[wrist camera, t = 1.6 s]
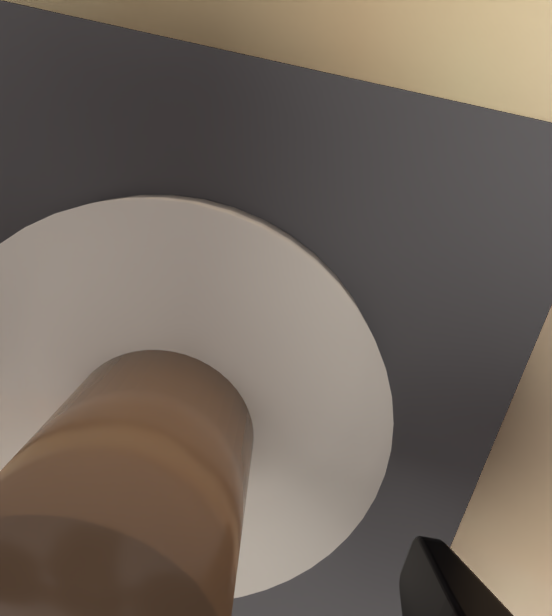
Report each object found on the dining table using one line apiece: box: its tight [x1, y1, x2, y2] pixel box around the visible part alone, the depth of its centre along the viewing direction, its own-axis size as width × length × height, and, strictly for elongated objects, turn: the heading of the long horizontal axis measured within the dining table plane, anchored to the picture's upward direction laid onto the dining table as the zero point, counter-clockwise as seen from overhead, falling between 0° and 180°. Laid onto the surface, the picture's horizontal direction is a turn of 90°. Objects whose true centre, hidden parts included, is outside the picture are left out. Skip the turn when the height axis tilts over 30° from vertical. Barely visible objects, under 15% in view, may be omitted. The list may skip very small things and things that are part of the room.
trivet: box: [0, 0, 552, 616], centre depth 10 cm, size 14×14×1 cm
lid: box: [0, 195, 394, 616], centre depth 7 cm, size 9×9×5 cm
